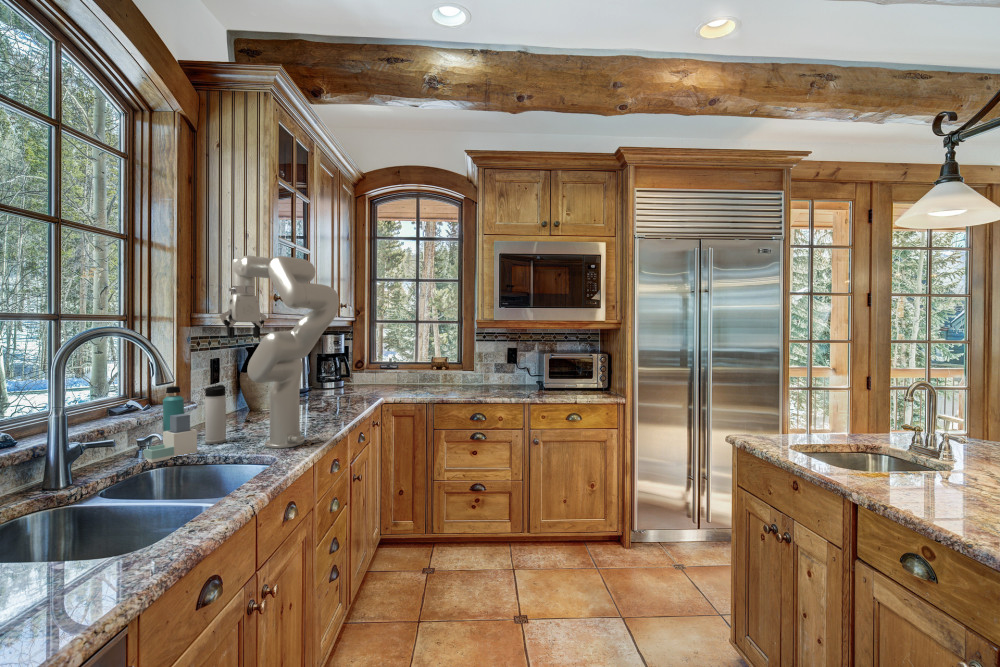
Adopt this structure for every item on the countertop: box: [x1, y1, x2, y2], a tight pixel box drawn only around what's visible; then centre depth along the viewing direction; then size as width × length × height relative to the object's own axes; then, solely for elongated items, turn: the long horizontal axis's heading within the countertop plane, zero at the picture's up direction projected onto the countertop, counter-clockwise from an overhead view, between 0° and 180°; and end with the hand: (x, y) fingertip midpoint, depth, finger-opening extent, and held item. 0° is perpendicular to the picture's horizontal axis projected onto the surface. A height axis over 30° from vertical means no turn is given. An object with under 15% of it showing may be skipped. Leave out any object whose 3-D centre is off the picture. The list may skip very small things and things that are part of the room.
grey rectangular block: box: [170, 413, 191, 433], centre depth 154 cm, size 4×4×8 cm
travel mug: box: [204, 384, 227, 445], centre depth 170 cm, size 6×7×20 cm
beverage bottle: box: [162, 385, 185, 433], centre depth 169 cm, size 6×7×20 cm
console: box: [143, 428, 198, 464], centre depth 152 cm, size 7×13×8 cm, turn 149°
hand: (244, 337), depth 180 cm, fingers open, 9 cm apart
